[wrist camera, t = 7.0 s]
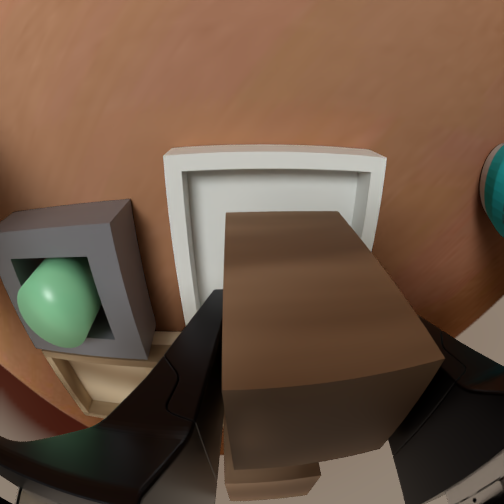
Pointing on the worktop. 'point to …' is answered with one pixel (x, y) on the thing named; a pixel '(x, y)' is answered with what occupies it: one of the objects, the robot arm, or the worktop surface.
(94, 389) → the divided wooden tray
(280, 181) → the parts tray
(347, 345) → the block
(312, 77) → the worktop surface
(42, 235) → the button box
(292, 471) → the billet
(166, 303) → the worktop surface
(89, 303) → the button
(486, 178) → the beverage can
